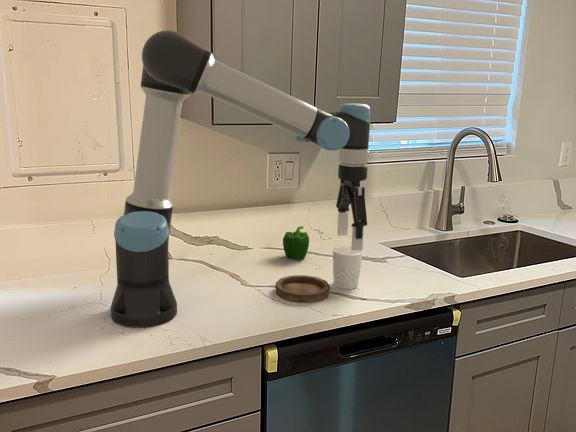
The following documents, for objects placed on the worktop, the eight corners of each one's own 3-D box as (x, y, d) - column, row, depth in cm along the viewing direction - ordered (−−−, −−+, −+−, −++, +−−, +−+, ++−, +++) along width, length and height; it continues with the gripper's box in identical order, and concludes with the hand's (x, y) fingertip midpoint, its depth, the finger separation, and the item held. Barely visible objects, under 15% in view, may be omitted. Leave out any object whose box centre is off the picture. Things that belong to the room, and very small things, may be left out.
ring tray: (280, 304, 141) (281, 296, 141) (272, 283, 155) (272, 276, 154) (335, 301, 144) (335, 293, 143) (321, 281, 157) (322, 274, 157)
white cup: (358, 291, 151) (361, 256, 148) (329, 288, 152) (331, 253, 150) (361, 281, 158) (363, 247, 156) (333, 278, 160) (335, 244, 157)
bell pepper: (291, 263, 171) (292, 232, 169) (278, 255, 178) (279, 225, 175) (314, 260, 175) (316, 229, 173) (301, 252, 182) (302, 222, 180)
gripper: (383, 172, 136) (378, 256, 141) (352, 156, 160) (349, 229, 165) (353, 173, 134) (349, 257, 140) (327, 157, 158) (324, 229, 164)
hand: (349, 242), depth 152 cm, fingers open, 13 cm apart
